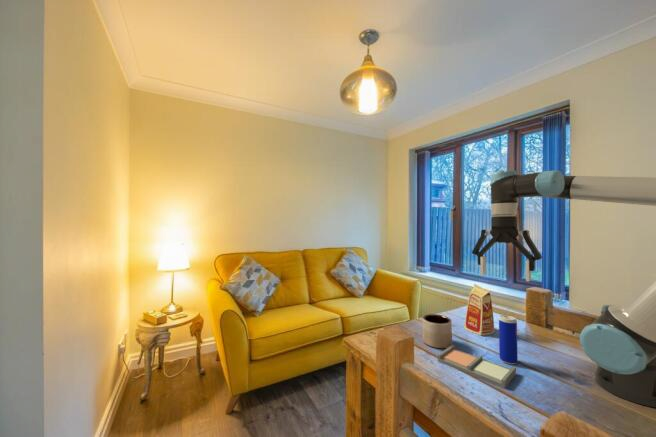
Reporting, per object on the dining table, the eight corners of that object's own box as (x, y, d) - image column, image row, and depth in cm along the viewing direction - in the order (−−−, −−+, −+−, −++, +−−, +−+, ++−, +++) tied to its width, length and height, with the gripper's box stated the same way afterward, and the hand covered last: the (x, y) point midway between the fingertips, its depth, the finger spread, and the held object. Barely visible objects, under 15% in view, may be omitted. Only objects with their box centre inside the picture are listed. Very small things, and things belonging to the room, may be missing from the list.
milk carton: (464, 328, 119) (463, 284, 119) (477, 325, 123) (477, 281, 123) (483, 336, 111) (482, 288, 111) (497, 332, 114) (496, 286, 115)
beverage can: (520, 365, 88) (519, 320, 89) (503, 364, 89) (502, 319, 90) (513, 358, 93) (512, 315, 94) (496, 356, 95) (496, 314, 95)
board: (516, 373, 84) (515, 366, 84) (504, 388, 77) (504, 380, 77) (452, 350, 99) (452, 344, 99) (437, 361, 92) (437, 354, 92)
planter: (446, 337, 111) (446, 314, 111) (456, 350, 100) (456, 324, 100) (419, 336, 112) (419, 313, 112) (426, 349, 101) (426, 323, 101)
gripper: (552, 215, 85) (553, 281, 85) (470, 216, 104) (471, 270, 104) (547, 215, 80) (548, 285, 80) (461, 216, 99) (462, 273, 99)
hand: (504, 277), depth 92 cm, fingers open, 13 cm apart
